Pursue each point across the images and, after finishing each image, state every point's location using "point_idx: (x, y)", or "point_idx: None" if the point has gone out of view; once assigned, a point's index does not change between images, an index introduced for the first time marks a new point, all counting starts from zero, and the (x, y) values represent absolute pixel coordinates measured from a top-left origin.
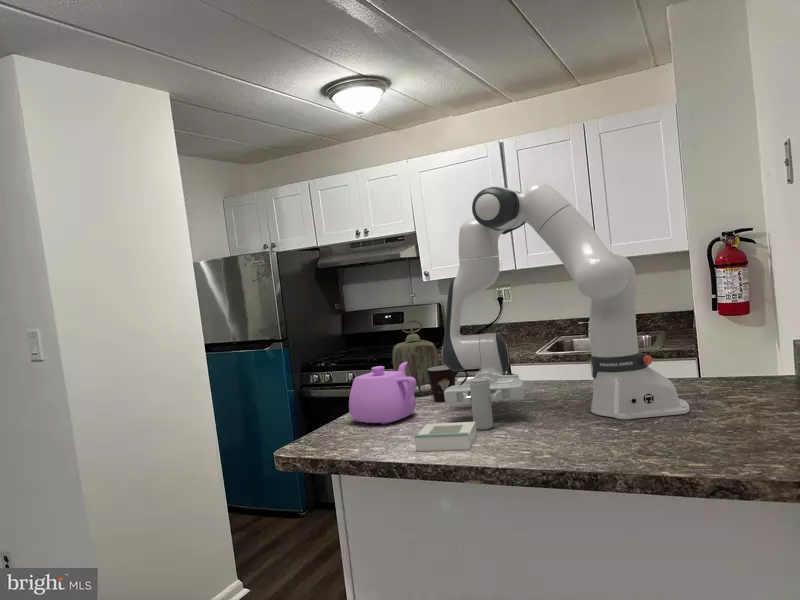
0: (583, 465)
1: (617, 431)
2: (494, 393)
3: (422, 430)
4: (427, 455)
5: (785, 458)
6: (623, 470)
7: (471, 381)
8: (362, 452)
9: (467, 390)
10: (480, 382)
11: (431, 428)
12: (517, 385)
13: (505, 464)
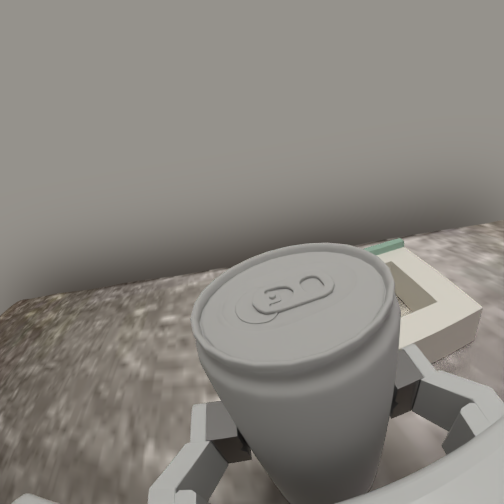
0: (109, 296)
1: (4, 408)
2: (204, 436)
3: (434, 272)
4: None
5: None
6: (83, 294)
7: (336, 247)
8: (485, 242)
9: (488, 427)
10: (257, 269)
11: (426, 287)
12: (25, 502)
13: (203, 278)
